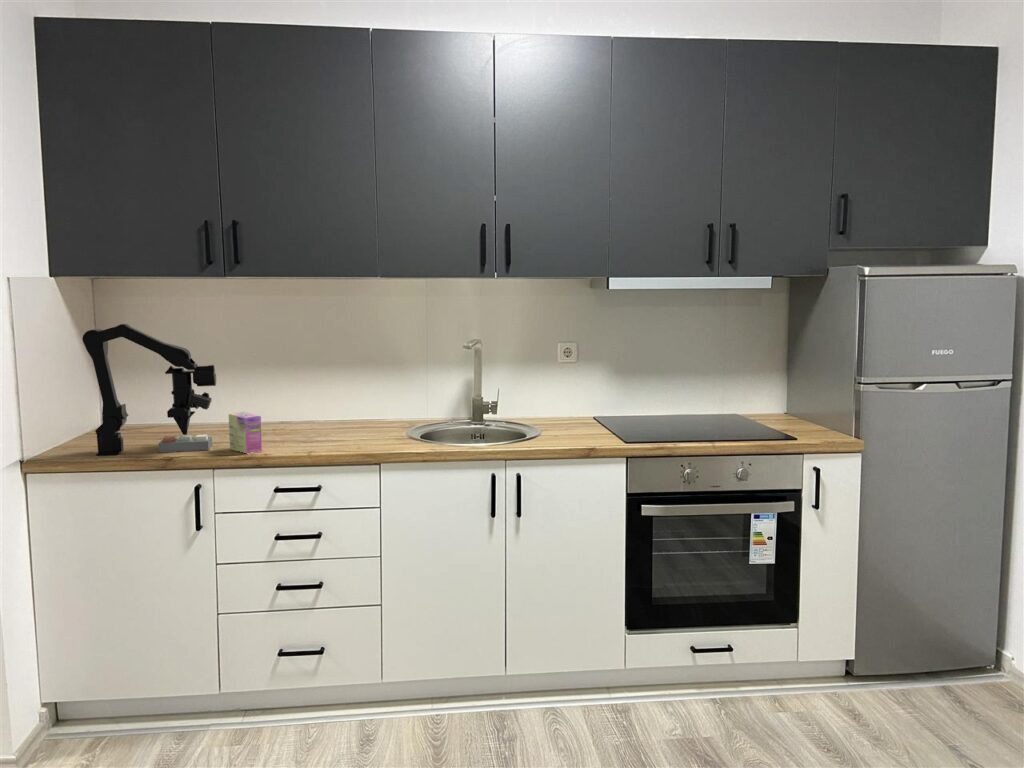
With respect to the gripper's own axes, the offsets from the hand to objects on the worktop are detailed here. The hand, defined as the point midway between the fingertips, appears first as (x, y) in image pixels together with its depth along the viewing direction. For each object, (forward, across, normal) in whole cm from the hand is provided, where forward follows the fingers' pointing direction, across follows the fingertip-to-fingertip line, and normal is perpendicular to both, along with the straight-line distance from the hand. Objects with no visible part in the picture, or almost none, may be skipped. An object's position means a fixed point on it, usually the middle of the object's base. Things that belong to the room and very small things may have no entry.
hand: (185, 434), depth 255 cm
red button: (+3, 0, +5) cm, 6 cm away
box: (+5, -6, -20) cm, 21 cm away
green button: (+3, 0, 0) cm, 3 cm away
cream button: (+3, 0, -5) cm, 6 cm away
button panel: (+5, 0, 0) cm, 5 cm away
